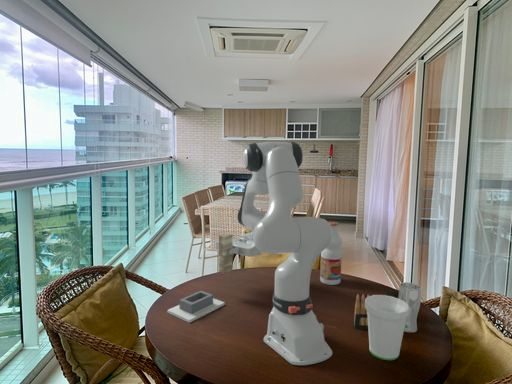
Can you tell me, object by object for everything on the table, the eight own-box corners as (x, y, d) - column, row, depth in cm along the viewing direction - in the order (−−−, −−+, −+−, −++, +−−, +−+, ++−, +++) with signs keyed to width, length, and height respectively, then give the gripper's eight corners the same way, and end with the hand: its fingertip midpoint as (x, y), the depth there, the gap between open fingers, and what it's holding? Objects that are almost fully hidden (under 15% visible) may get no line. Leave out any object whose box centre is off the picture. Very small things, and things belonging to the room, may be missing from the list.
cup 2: (411, 367, 94) (415, 315, 92) (365, 362, 96) (368, 311, 94) (400, 342, 106) (403, 296, 104) (359, 338, 108) (361, 293, 106)
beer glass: (405, 334, 111) (408, 291, 109) (391, 324, 117) (394, 283, 116) (423, 331, 113) (426, 289, 111) (408, 321, 119) (411, 281, 117)
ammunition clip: (354, 328, 114) (355, 294, 113) (353, 325, 116) (354, 292, 115) (386, 329, 114) (388, 295, 112) (384, 326, 116) (386, 293, 114)
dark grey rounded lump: (379, 310, 128) (380, 289, 127) (395, 307, 130) (396, 287, 129) (392, 319, 121) (393, 298, 120) (409, 316, 123) (410, 295, 122)
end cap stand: (224, 304, 130) (224, 293, 130) (189, 322, 116) (189, 310, 116) (203, 296, 138) (202, 286, 137) (167, 312, 123) (167, 301, 123)
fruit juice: (325, 276, 163) (327, 219, 160) (343, 281, 157) (346, 222, 154) (316, 282, 155) (318, 222, 152) (335, 287, 150) (337, 225, 146)
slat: (232, 270, 139) (232, 234, 138) (224, 273, 135) (224, 237, 134) (227, 268, 141) (227, 233, 140) (218, 271, 137) (218, 235, 136)
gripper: (228, 233, 154) (206, 239, 143) (264, 240, 141) (243, 247, 130) (228, 247, 154) (206, 254, 143) (263, 255, 142) (243, 263, 131)
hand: (224, 251), depth 137 cm, fingers closed on slat, 3 cm apart
